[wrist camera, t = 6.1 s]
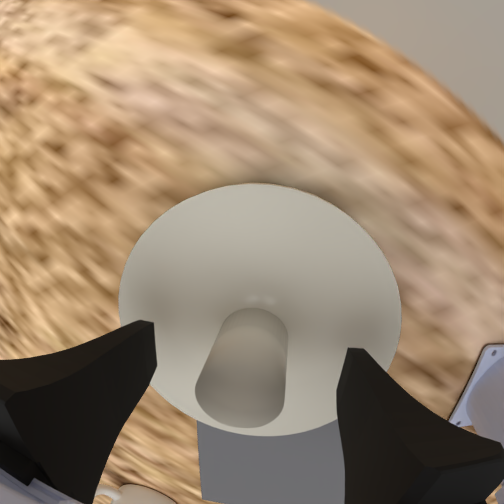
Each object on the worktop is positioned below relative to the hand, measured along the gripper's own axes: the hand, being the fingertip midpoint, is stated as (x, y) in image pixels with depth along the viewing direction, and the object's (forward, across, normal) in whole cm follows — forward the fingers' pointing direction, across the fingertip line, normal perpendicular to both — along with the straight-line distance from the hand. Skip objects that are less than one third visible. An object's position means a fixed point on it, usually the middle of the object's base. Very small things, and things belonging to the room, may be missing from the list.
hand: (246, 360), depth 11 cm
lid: (+3, 0, 0) cm, 3 cm away
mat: (+7, -4, +17) cm, 19 cm away
